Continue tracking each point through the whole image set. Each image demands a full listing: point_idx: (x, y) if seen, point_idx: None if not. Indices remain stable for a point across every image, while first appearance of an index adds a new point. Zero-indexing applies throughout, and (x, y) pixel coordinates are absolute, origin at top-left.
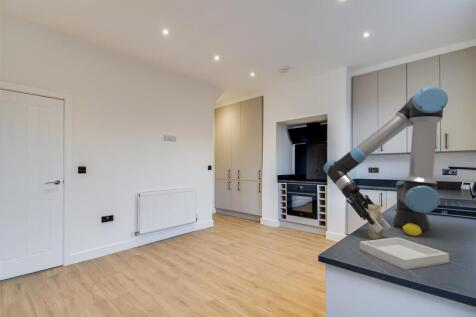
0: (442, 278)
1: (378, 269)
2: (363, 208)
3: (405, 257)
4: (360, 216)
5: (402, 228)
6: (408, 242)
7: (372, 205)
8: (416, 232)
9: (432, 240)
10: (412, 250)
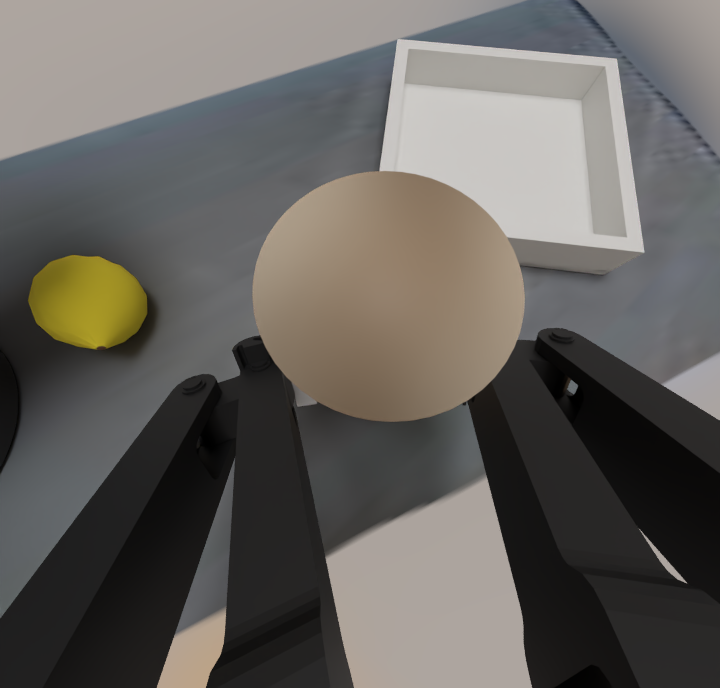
0: (529, 44)
1: (668, 131)
2: (558, 411)
3: (505, 138)
4: (564, 393)
5: (8, 429)
6: (393, 166)
7: (482, 261)
8: (127, 271)
9: (145, 226)
10: (405, 168)
